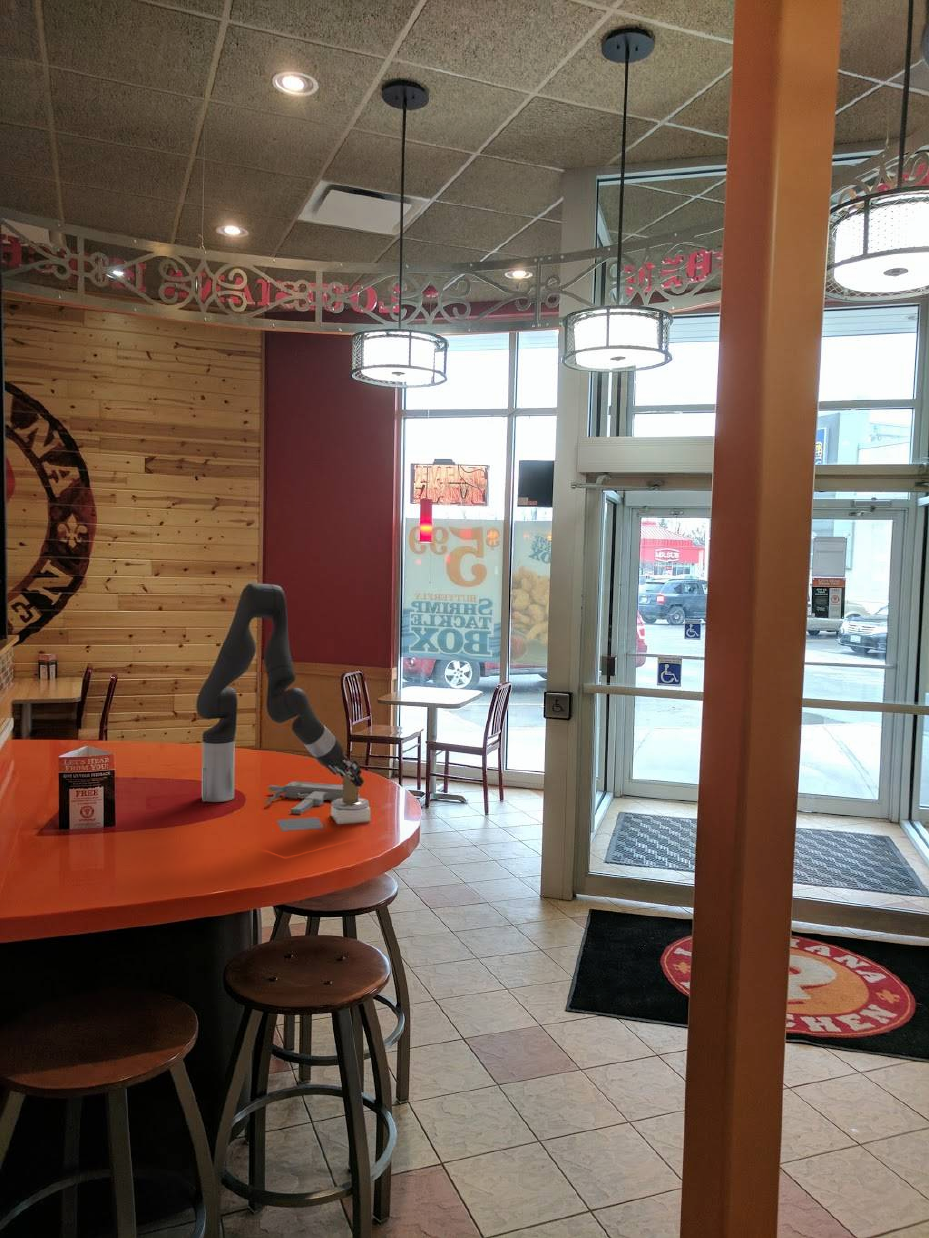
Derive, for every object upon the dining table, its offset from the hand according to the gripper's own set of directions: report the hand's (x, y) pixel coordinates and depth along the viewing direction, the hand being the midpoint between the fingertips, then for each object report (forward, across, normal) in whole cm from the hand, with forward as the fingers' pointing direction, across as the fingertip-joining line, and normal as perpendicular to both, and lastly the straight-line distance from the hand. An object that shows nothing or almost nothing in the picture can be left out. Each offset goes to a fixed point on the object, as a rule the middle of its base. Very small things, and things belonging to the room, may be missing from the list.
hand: (356, 782), depth 247 cm
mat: (-4, +5, +18) cm, 19 cm away
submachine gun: (+7, +23, +8) cm, 25 cm away
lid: (+3, 0, +6) cm, 6 cm away
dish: (+6, 0, +8) cm, 10 cm away
